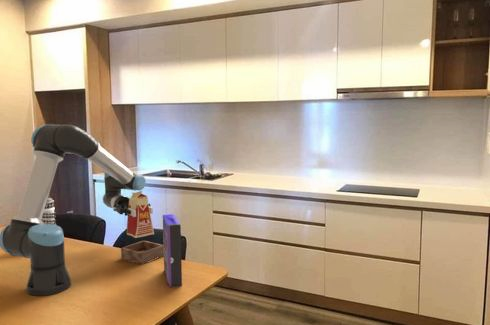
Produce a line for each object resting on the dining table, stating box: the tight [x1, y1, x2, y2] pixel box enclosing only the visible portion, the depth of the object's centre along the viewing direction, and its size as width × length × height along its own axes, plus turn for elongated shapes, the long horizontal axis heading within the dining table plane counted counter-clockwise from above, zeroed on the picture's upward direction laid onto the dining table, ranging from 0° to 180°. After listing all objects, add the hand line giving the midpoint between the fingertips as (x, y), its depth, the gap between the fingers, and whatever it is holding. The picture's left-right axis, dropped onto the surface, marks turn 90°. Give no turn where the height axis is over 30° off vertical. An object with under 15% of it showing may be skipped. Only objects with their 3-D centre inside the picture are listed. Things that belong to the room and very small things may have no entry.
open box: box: [120, 240, 164, 265], centre depth 184 cm, size 14×14×5 cm
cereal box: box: [162, 213, 183, 288], centre depth 160 cm, size 17×5×24 cm, turn 18°
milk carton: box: [126, 190, 155, 239], centre depth 179 cm, size 9×9×20 cm
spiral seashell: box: [41, 197, 57, 225], centre depth 197 cm, size 9×9×25 cm
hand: (143, 212), depth 175 cm, fingers closed on milk carton, 7 cm apart
